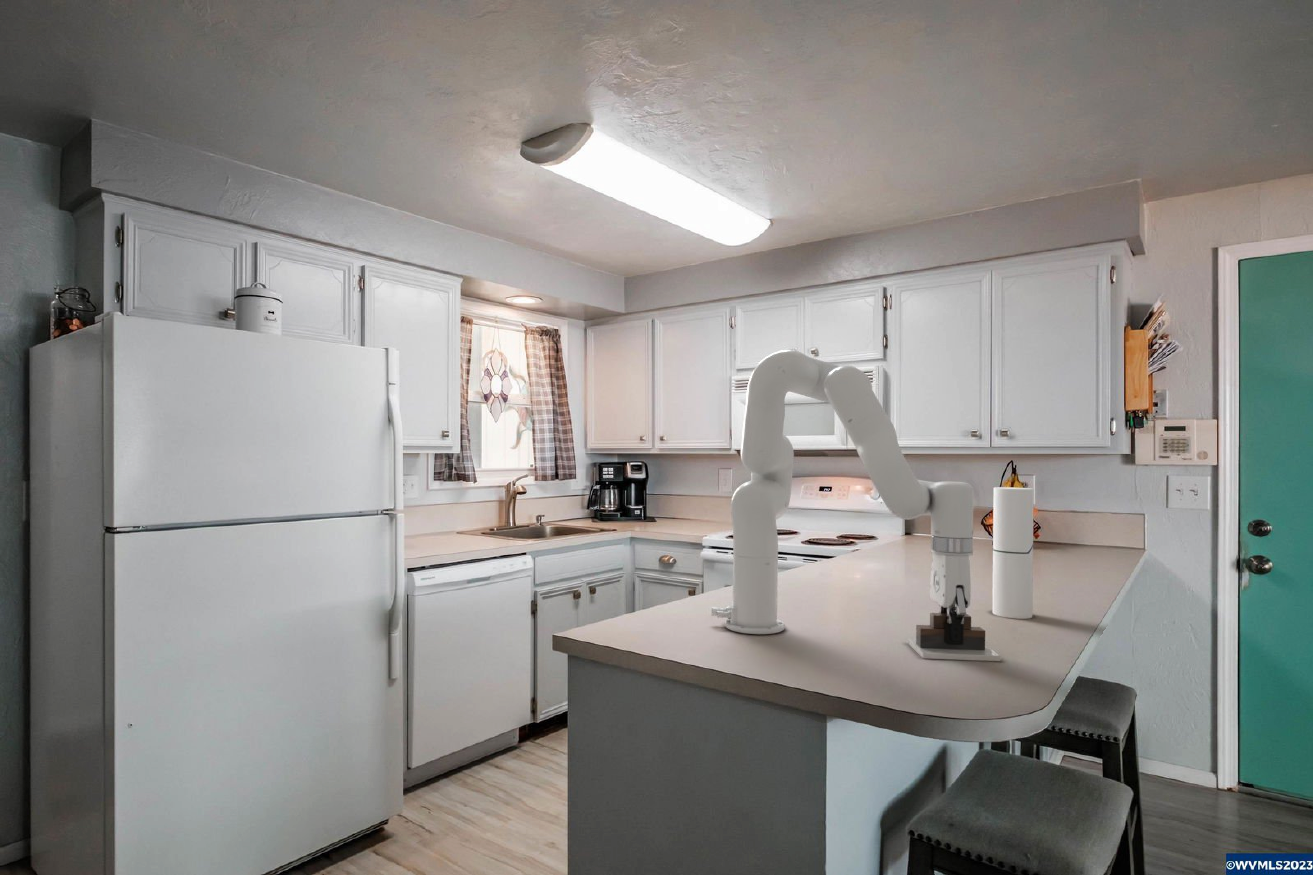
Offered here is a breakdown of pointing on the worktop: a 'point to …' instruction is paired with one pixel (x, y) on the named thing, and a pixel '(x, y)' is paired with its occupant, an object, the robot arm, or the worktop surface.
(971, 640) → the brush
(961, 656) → the tile
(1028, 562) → the container
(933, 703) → the worktop surface
